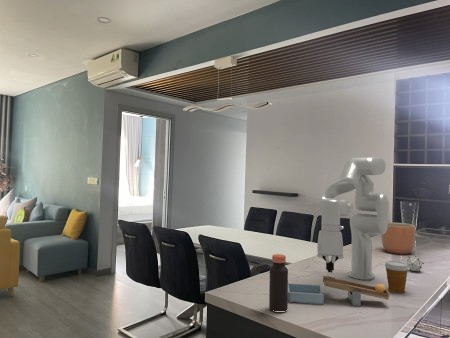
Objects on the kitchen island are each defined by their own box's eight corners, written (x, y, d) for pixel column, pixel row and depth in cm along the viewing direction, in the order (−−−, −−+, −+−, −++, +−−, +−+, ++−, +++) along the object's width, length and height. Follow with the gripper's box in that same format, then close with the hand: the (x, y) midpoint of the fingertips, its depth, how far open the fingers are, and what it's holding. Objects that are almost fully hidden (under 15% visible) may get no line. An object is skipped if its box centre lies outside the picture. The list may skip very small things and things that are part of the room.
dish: (287, 292, 146) (287, 283, 146) (319, 294, 144) (319, 285, 144) (288, 302, 134) (288, 292, 134) (323, 304, 132) (323, 294, 132)
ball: (373, 290, 137) (375, 281, 137) (382, 292, 136) (384, 284, 136) (375, 293, 133) (377, 284, 133) (385, 296, 133) (387, 287, 133)
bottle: (285, 306, 130) (286, 253, 131) (289, 313, 124) (290, 257, 124) (267, 306, 130) (268, 253, 131) (270, 313, 123) (271, 257, 124)
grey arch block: (347, 297, 141) (347, 283, 141) (355, 298, 141) (355, 284, 141) (352, 305, 132) (352, 291, 132) (360, 306, 131) (360, 291, 132)
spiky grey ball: (411, 278, 183) (398, 262, 184) (415, 270, 189) (403, 254, 190) (426, 273, 177) (413, 257, 178) (430, 265, 183) (417, 249, 184)
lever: (320, 279, 148) (321, 270, 148) (377, 291, 144) (379, 282, 144) (324, 288, 135) (326, 279, 135) (387, 302, 131) (389, 292, 131)
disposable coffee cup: (387, 285, 158) (387, 259, 158) (410, 290, 152) (410, 263, 152) (382, 291, 150) (382, 263, 151) (406, 296, 144) (406, 267, 144)
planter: (421, 256, 220) (421, 226, 221) (389, 255, 221) (389, 226, 221) (405, 249, 241) (405, 222, 241) (375, 249, 241) (376, 222, 242)
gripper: (347, 228, 148) (346, 270, 147) (311, 226, 150) (310, 268, 149) (350, 230, 141) (350, 275, 140) (313, 228, 143) (312, 272, 142)
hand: (329, 271), depth 145 cm, fingers closed
